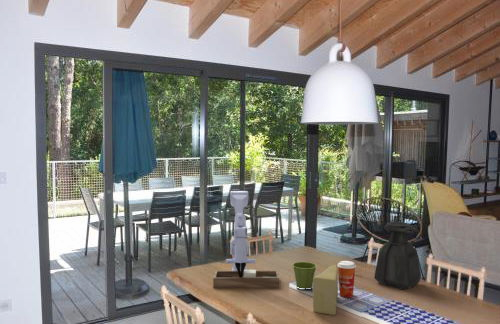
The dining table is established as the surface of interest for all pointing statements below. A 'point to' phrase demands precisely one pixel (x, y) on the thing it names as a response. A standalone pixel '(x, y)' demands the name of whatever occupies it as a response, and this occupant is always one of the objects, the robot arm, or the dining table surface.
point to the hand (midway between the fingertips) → (240, 277)
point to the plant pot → (304, 274)
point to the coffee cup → (346, 278)
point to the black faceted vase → (398, 259)
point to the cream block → (249, 273)
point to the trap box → (246, 279)
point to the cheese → (325, 291)
